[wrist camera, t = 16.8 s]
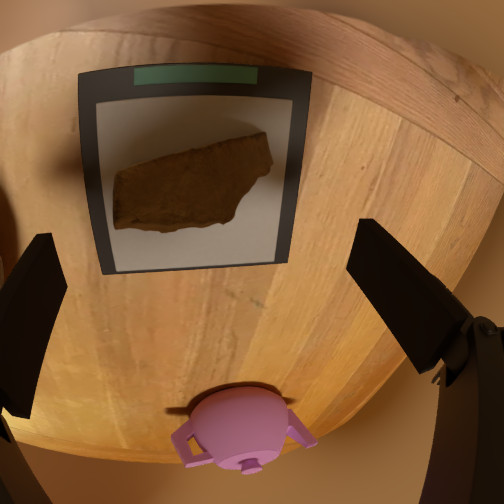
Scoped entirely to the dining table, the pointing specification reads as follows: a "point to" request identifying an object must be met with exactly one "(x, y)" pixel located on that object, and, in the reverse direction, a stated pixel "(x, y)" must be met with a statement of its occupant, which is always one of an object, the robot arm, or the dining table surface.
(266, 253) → the scale
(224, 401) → the teapot
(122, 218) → the rock
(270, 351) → the dining table surface
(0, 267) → the bowl
